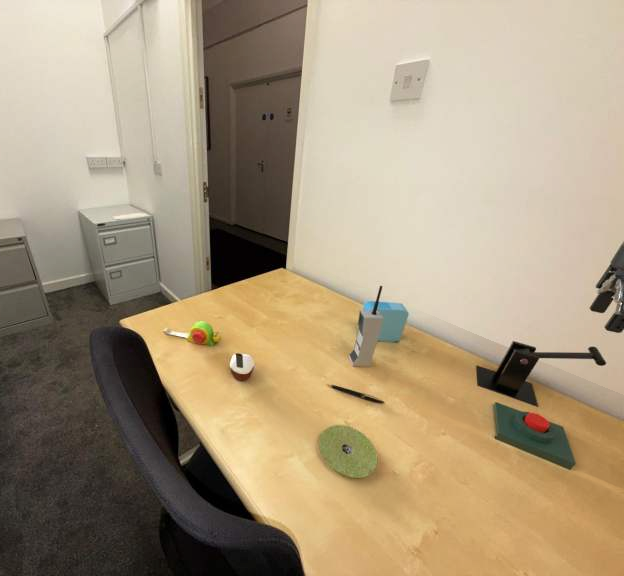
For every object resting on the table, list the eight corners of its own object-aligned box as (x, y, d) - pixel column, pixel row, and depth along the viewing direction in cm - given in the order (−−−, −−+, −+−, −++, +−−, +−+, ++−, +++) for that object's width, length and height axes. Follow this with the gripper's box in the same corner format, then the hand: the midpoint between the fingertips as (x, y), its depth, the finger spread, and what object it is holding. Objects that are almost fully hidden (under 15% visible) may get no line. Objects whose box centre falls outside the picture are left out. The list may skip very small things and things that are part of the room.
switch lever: (597, 353, 67) (597, 344, 67) (606, 367, 63) (605, 358, 63) (513, 353, 76) (512, 344, 76) (516, 365, 72) (515, 356, 72)
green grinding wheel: (387, 473, 58) (390, 467, 57) (337, 490, 55) (339, 485, 54) (352, 425, 67) (354, 419, 67) (308, 437, 65) (309, 431, 64)
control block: (558, 433, 66) (567, 421, 65) (570, 470, 59) (581, 458, 57) (491, 407, 72) (498, 396, 70) (494, 439, 65) (502, 427, 63)
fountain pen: (324, 387, 77) (325, 383, 77) (325, 384, 78) (326, 380, 78) (384, 406, 72) (385, 402, 72) (384, 402, 73) (385, 398, 72)
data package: (394, 334, 98) (404, 303, 92) (399, 342, 94) (410, 310, 88) (357, 331, 99) (364, 300, 94) (360, 339, 95) (368, 307, 90)
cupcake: (240, 362, 85) (241, 327, 80) (259, 370, 82) (261, 335, 77) (220, 382, 78) (220, 346, 72) (241, 393, 75) (241, 356, 70)
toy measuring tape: (216, 351, 89) (215, 333, 86) (159, 337, 95) (157, 320, 91) (224, 339, 95) (223, 321, 91) (170, 326, 100) (168, 310, 97)
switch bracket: (529, 386, 79) (554, 348, 73) (536, 409, 72) (563, 370, 66) (474, 368, 84) (493, 331, 78) (475, 388, 78) (496, 349, 72)
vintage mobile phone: (348, 357, 88) (366, 282, 76) (365, 358, 87) (386, 282, 76) (352, 366, 84) (371, 289, 72) (369, 367, 84) (392, 289, 72)
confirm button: (544, 423, 64) (548, 417, 64) (547, 435, 62) (551, 430, 61) (522, 415, 66) (526, 409, 65) (525, 427, 64) (528, 421, 63)
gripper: (713, 264, 47) (647, 345, 55) (665, 239, 58) (615, 310, 65) (642, 254, 51) (590, 332, 58) (609, 233, 61) (568, 301, 69)
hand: (603, 320), depth 62 cm, fingers open, 8 cm apart
